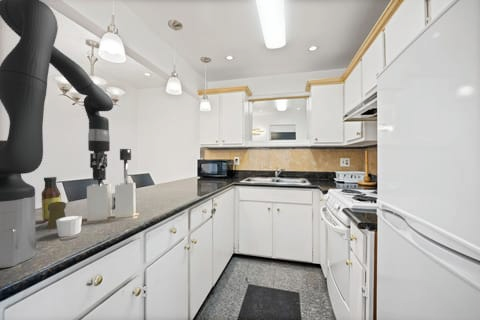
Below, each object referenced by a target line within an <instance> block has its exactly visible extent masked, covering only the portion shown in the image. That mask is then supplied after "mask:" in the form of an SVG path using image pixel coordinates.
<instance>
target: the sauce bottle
mask: <svg viewBox="0 0 480 320" xmlns="http://www.w3.org/2000/svg"><path fill="white" fill-rule="evenodd" d="M57 179H58V178H57V176H47V177H46V176H45V177H43V181H44V188H43V190H42V191H41V215H42V222H43V223H48V219H49V213H50V211H49V210H48V205H49V204H50V203H53V202H62V194H61V191H60V190H59V188H58V186H57Z"/></svg>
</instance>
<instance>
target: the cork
mask: <svg viewBox="0 0 480 320" xmlns="http://www.w3.org/2000/svg"><path fill="white" fill-rule="evenodd" d="M66 207H67V204H66V202H65V201H61V202H53V203H50V204H49V205H48V210H49V211H50V213H49V219H48V221H47V226H46V228H47V229H48V230H49V229H51V230H52V229H57V223H56V220H57V219H60V218H63V217H66V213H65V209H66Z"/></svg>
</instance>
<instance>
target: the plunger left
mask: <svg viewBox="0 0 480 320" xmlns="http://www.w3.org/2000/svg"><path fill="white" fill-rule="evenodd" d="M106 169H107V167H106V168H100V177H99V178H93V177H92V179H93V181H97V184H98V186H102V184H103V183H102V181H105V180H107V177H106V176H107V175H106V171H107V170H106Z"/></svg>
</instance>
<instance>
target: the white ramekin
mask: <svg viewBox="0 0 480 320" xmlns="http://www.w3.org/2000/svg"><path fill="white" fill-rule="evenodd" d="M82 221H83V216H82V215H68V216H65V217H63V218H60V219H57V220H56V223H57V228H56V229H57V235H58V237H59V238H60V239H58V240H59V242H64V241H65V242H66V241H72V240H75V239H77V238H79V236H75V237H72V236H74V235H78V234H79V233H81V230H82V229H81V228H82V223H83V222H82ZM70 236H71V237H70ZM61 237H63V238H61ZM64 237H66V238H64ZM67 237H68V238H67Z"/></svg>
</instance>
